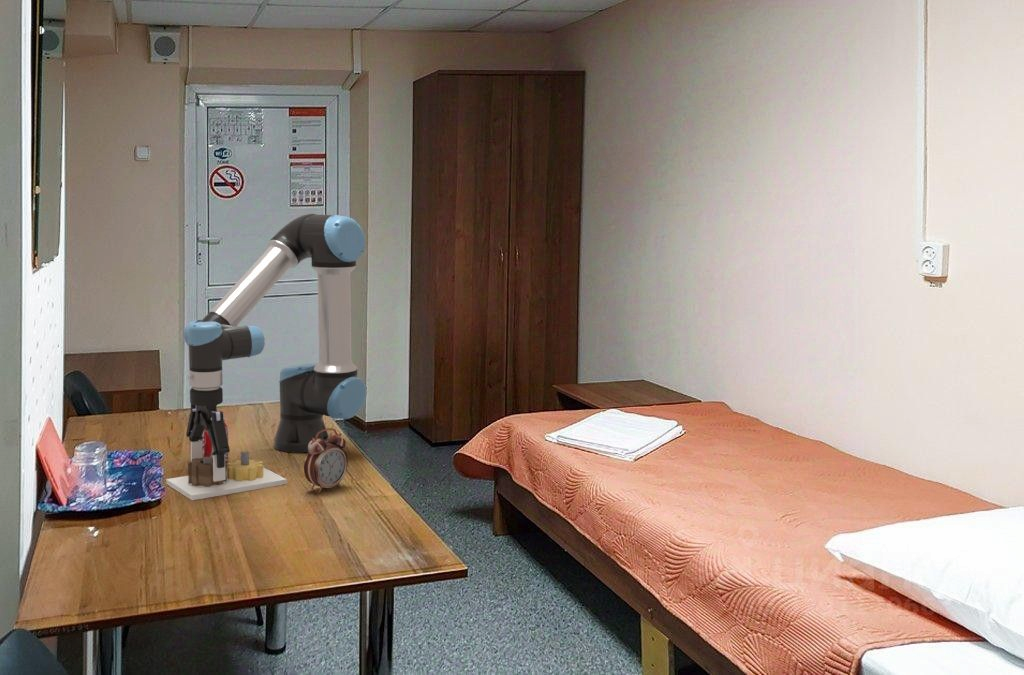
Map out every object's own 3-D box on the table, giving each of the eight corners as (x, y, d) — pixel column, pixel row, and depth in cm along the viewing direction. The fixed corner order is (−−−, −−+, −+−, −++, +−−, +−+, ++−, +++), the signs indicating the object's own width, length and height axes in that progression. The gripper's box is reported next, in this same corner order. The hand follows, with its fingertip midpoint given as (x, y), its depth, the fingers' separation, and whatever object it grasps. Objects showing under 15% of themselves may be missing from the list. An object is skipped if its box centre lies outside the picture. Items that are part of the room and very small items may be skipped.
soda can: (220, 470, 272) (220, 424, 271) (195, 468, 274) (194, 422, 272) (233, 463, 279) (232, 418, 278) (208, 461, 281) (207, 416, 279)
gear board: (258, 469, 275) (258, 441, 273) (286, 484, 262) (286, 455, 261) (166, 483, 260) (165, 455, 259) (191, 500, 247) (191, 470, 246)
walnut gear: (217, 474, 264) (217, 454, 263) (232, 483, 257) (231, 462, 256) (183, 480, 258) (182, 460, 258) (197, 488, 252) (196, 468, 251)
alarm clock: (315, 496, 253) (315, 434, 251) (302, 491, 256) (301, 430, 254) (349, 486, 262) (349, 426, 259) (336, 482, 265) (336, 423, 262)
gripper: (171, 380, 262) (173, 464, 265) (212, 398, 242) (213, 488, 246) (200, 377, 266) (202, 459, 270) (243, 394, 247) (244, 483, 250)
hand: (208, 473), depth 258 cm, fingers open, 13 cm apart
